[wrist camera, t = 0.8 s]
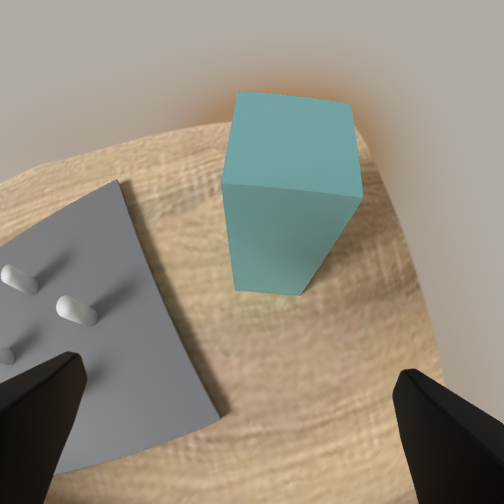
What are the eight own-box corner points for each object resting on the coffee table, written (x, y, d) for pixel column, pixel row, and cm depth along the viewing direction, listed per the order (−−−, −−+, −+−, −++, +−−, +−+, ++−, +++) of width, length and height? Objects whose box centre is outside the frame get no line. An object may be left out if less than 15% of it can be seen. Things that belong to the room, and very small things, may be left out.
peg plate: (221, 417, 18) (215, 429, 14) (19, 480, 15) (-11, 489, 11) (120, 184, 25) (102, 153, 21) (-36, 279, 21) (-63, 264, 17)
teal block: (300, 295, 22) (363, 197, 9) (235, 290, 22) (221, 183, 10) (302, 236, 23) (350, 104, 11) (241, 230, 23) (237, 91, 11)
